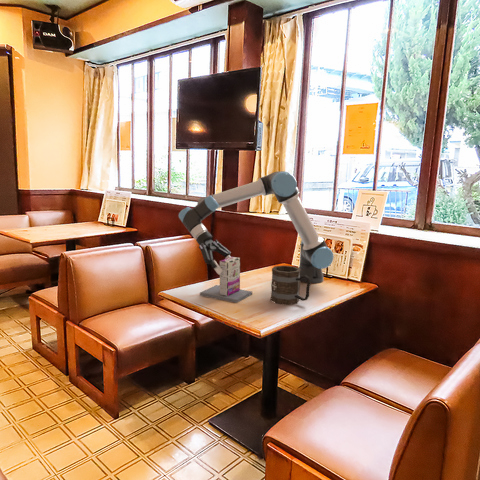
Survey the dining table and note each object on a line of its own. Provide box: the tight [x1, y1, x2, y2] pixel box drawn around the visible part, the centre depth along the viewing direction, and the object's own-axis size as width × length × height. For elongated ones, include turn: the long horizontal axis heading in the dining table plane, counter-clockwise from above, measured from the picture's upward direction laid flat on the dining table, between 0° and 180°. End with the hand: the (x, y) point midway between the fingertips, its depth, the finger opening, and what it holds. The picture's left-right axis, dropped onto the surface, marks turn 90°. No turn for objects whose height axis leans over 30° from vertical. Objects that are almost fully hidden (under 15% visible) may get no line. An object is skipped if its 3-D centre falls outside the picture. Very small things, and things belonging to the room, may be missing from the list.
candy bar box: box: [219, 256, 241, 296], centre depth 192 cm, size 11×5×16 cm, turn 149°
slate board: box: [199, 284, 253, 304], centre depth 194 cm, size 20×15×2 cm
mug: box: [270, 265, 312, 306], centre depth 186 cm, size 20×14×15 cm
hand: (228, 269), depth 191 cm, fingers open, 13 cm apart
